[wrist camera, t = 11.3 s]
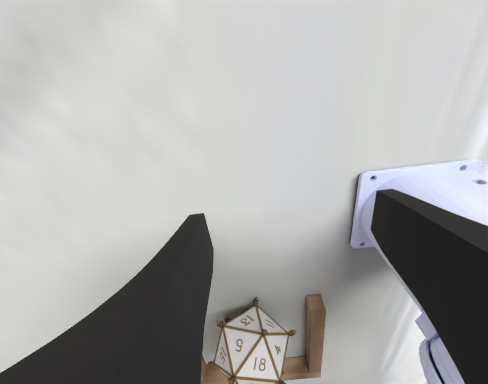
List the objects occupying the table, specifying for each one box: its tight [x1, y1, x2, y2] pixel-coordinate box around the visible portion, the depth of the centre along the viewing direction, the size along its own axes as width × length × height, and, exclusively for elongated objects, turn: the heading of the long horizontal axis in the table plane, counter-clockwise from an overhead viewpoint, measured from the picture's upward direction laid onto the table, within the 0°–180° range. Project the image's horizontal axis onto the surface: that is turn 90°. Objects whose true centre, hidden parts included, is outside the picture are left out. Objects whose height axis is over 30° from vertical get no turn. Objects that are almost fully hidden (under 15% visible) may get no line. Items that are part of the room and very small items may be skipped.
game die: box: [206, 297, 296, 384], centre depth 25 cm, size 9×8×10 cm
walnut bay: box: [201, 294, 326, 384], centre depth 30 cm, size 17×14×2 cm
